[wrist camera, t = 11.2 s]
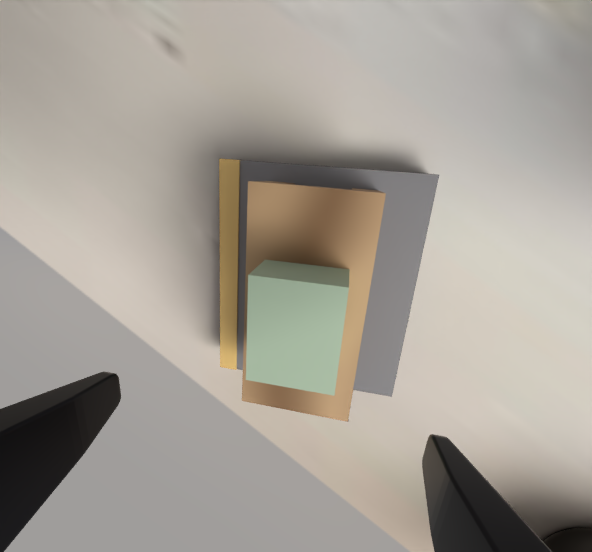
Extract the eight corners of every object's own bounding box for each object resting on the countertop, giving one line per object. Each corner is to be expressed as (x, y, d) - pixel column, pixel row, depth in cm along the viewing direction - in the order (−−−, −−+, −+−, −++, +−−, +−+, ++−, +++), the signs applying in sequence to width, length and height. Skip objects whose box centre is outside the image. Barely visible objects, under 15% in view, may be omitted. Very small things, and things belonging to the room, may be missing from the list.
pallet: (378, 190, 16) (385, 193, 12) (348, 376, 20) (347, 421, 16) (270, 181, 17) (248, 181, 13) (261, 361, 21) (242, 400, 17)
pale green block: (349, 269, 14) (349, 287, 11) (337, 362, 15) (334, 395, 13) (265, 259, 14) (248, 274, 12) (261, 350, 16) (245, 379, 14)
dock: (429, 175, 17) (439, 174, 15) (388, 377, 22) (391, 397, 20) (232, 160, 19) (219, 158, 17) (231, 351, 24) (220, 366, 22)
